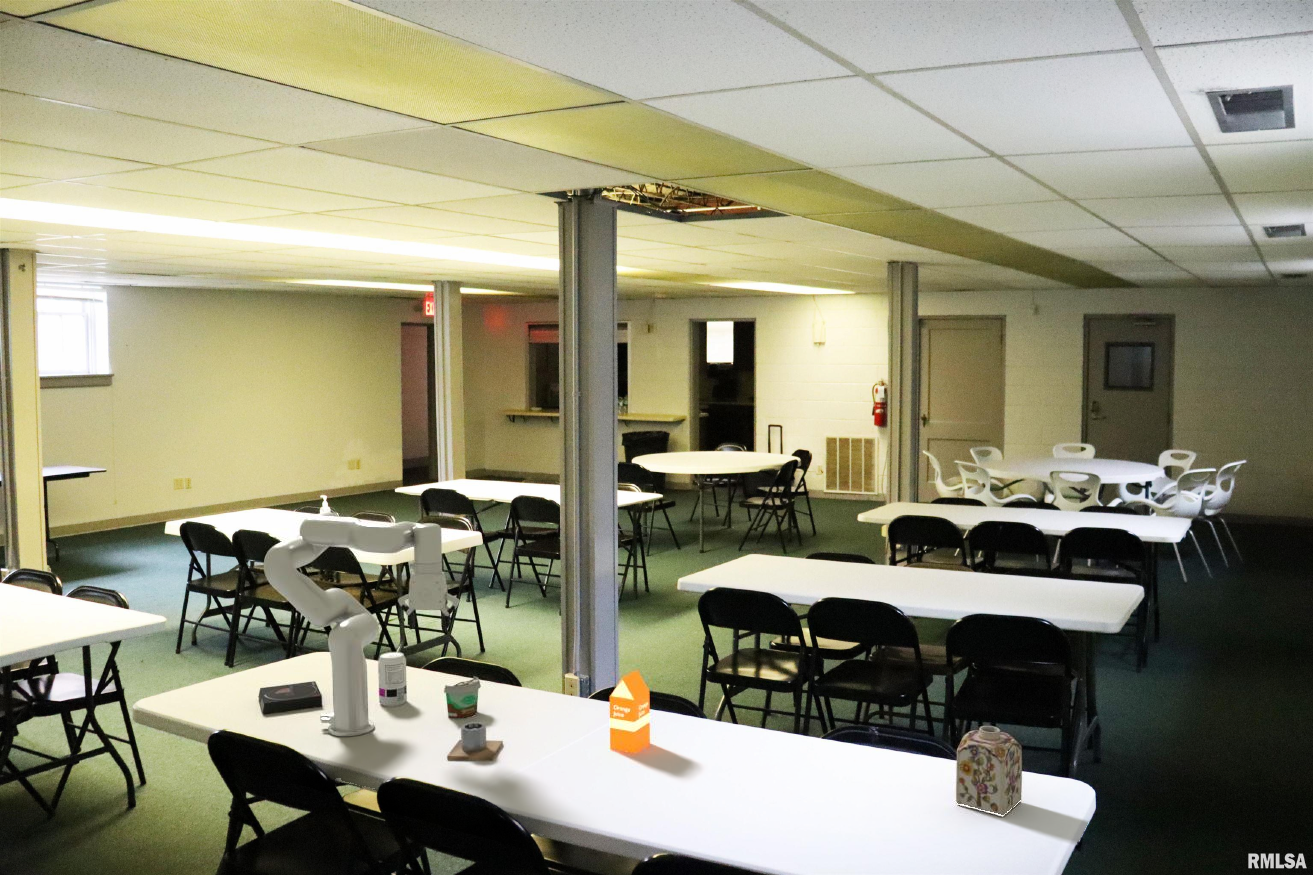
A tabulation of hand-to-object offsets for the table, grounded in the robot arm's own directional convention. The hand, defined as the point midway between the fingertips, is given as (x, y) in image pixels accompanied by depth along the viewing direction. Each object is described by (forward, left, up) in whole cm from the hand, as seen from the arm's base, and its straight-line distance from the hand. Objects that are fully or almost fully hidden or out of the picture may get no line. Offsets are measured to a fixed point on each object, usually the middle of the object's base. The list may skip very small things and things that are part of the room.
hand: (429, 628), depth 297 cm
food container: (+6, +16, -30) cm, 35 cm away
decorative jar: (+145, -38, -30) cm, 153 cm away
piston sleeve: (+16, -13, -29) cm, 35 cm away
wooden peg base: (+16, -13, -30) cm, 36 cm away
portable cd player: (-52, +24, -31) cm, 65 cm away
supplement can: (-20, +26, -30) cm, 45 cm away
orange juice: (+57, -6, -30) cm, 65 cm away
